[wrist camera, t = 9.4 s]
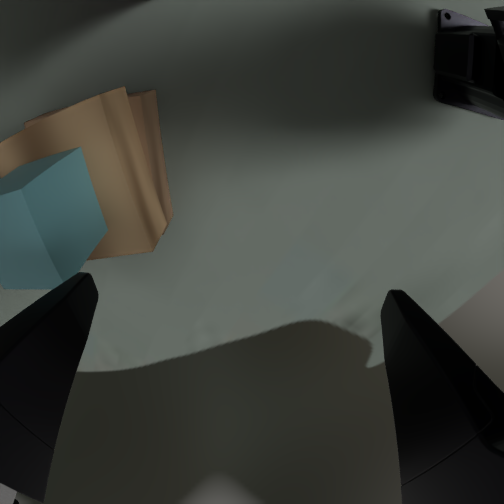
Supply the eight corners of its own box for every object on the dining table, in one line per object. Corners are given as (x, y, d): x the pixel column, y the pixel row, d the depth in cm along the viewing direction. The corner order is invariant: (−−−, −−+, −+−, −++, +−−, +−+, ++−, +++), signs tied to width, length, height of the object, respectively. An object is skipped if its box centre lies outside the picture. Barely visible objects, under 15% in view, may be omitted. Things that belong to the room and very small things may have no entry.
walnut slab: (158, 88, 17) (140, 95, 15) (174, 212, 23) (163, 234, 20) (48, 111, 18) (24, 122, 16) (74, 216, 23) (56, 236, 21)
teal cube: (80, 146, 14) (21, 189, 10) (108, 230, 17) (66, 289, 12) (18, 166, 14) (-37, 208, 10) (46, 237, 17) (4, 288, 13)
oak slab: (124, 86, 15) (99, 94, 12) (167, 224, 20) (152, 251, 17) (18, 133, 16) (-10, 148, 14) (63, 242, 21) (43, 266, 19)
